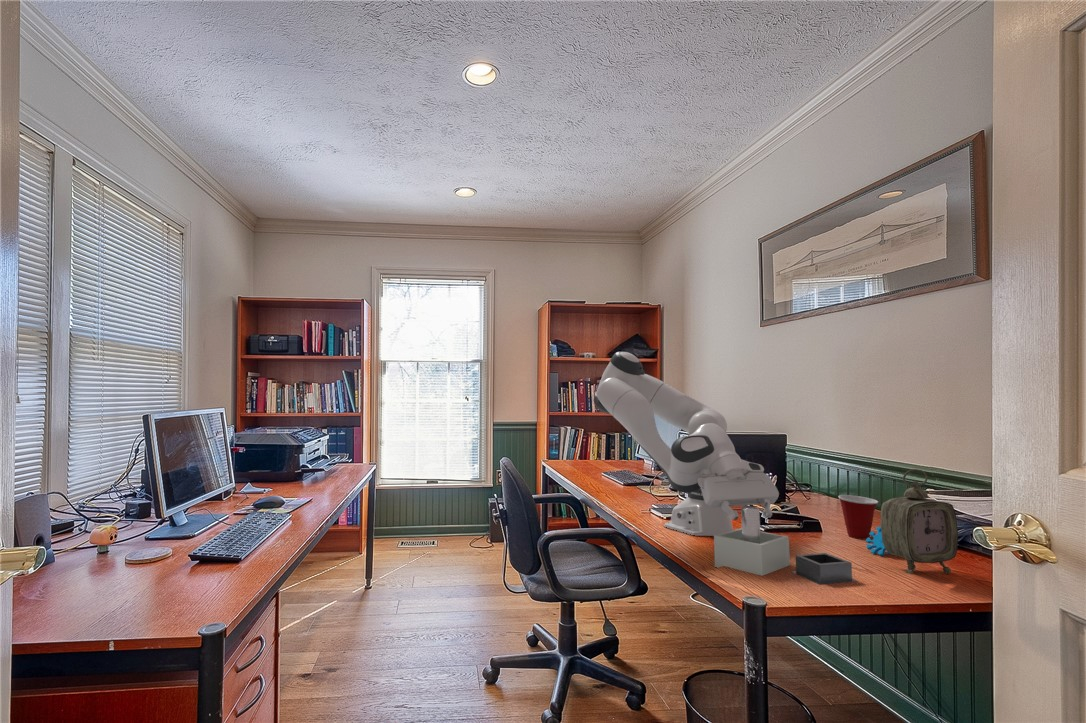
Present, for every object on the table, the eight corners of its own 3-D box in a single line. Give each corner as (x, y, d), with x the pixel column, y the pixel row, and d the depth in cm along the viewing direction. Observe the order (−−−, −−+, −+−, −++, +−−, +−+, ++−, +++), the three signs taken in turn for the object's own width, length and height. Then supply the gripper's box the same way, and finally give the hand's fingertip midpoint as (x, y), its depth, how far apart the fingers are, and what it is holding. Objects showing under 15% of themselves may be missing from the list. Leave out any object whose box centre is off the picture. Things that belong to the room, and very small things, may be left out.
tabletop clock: (908, 579, 133) (903, 472, 134) (878, 568, 141) (874, 468, 143) (960, 575, 135) (954, 470, 137) (927, 564, 144) (922, 466, 146)
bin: (714, 567, 143) (713, 535, 144) (743, 558, 152) (742, 527, 152) (762, 579, 133) (761, 545, 134) (789, 569, 142) (788, 536, 142)
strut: (738, 563, 143) (736, 507, 144) (748, 560, 146) (746, 505, 147) (755, 568, 139) (753, 510, 140) (765, 564, 142) (763, 508, 143)
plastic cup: (879, 543, 166) (878, 501, 167) (838, 538, 172) (836, 498, 172) (880, 535, 175) (878, 496, 176) (841, 531, 181) (839, 493, 182)
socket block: (791, 575, 136) (790, 554, 137) (826, 572, 139) (826, 551, 139) (820, 589, 127) (819, 566, 127) (858, 585, 129) (857, 563, 129)
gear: (857, 543, 159) (880, 518, 160) (869, 557, 160) (892, 531, 161) (886, 560, 148) (912, 532, 149) (900, 574, 149) (925, 547, 150)
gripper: (698, 467, 149) (719, 512, 138) (767, 464, 153) (792, 508, 143) (691, 482, 153) (710, 527, 142) (758, 479, 157) (781, 522, 147)
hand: (752, 517), depth 143 cm, fingers open, 8 cm apart
